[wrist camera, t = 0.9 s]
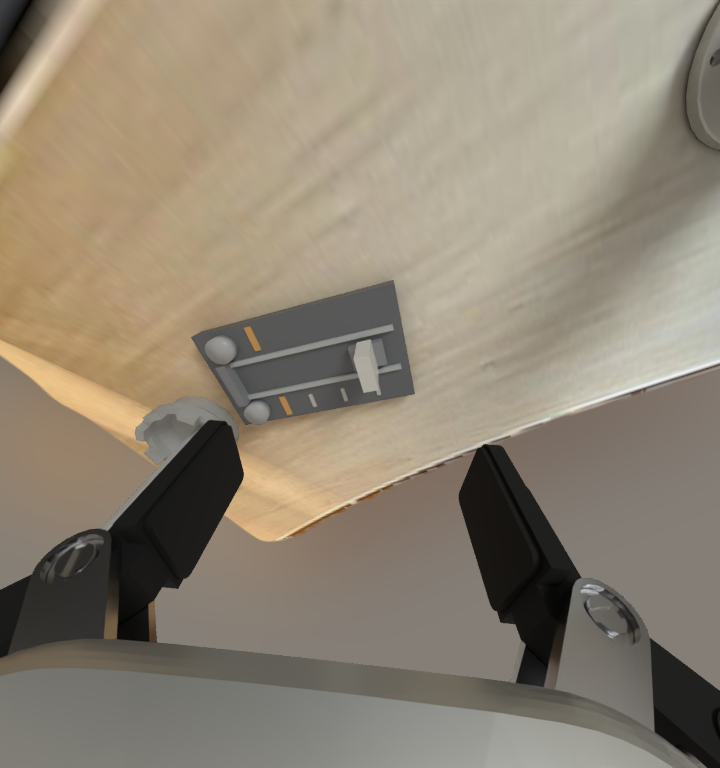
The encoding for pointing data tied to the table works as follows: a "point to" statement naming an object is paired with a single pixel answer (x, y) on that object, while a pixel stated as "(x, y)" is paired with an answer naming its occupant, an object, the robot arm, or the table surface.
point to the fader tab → (368, 362)
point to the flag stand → (173, 434)
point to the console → (308, 355)
